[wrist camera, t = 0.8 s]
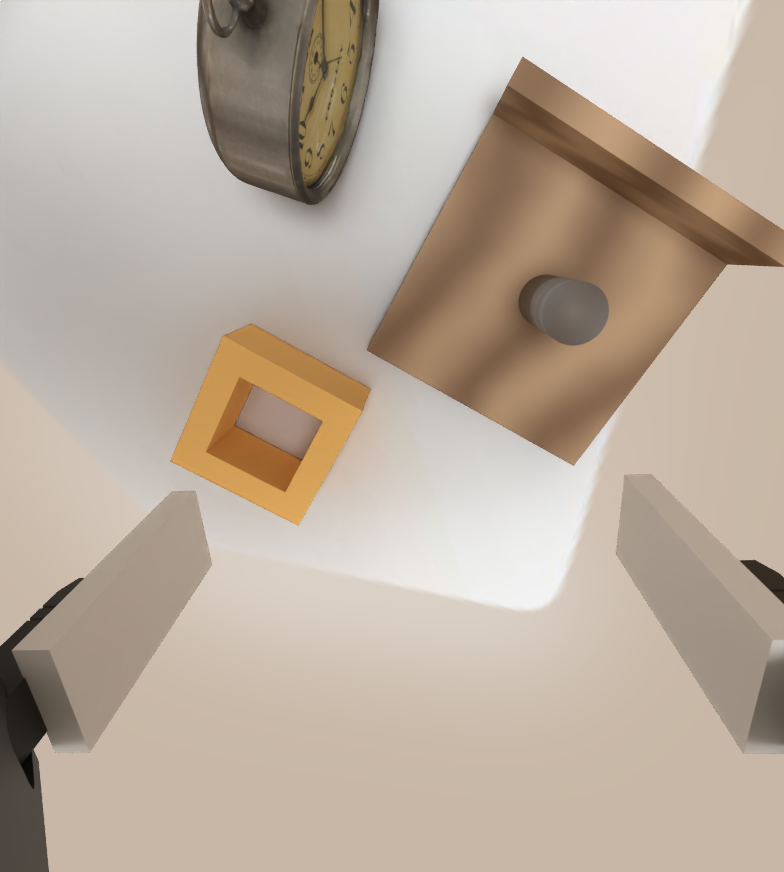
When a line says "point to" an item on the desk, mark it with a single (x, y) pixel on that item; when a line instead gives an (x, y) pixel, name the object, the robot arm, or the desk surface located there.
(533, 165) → the hook board
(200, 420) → the orange square frame
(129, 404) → the desk surface
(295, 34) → the alarm clock
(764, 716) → the robot arm
